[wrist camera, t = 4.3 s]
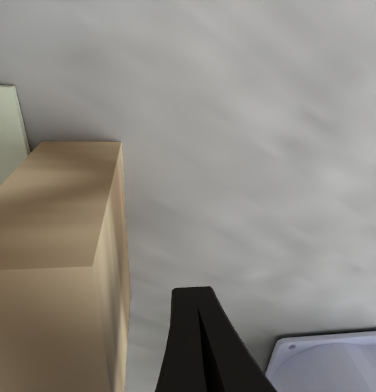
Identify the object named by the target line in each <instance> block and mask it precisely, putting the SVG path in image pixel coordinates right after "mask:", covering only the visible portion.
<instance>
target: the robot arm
mask: <svg viewBox="0 0 376 392" xmlns="http://www.w3.org/2000/svg"><path fill="white" fill-rule="evenodd" d="M155 392H376V331H370V332H357V333H344V334H330V335H317V336H304V337H291V338H282V339H280V340H278V341H277V343H276V345H275V348H274V351H273V354H272V356H271V359H270V362H269V365H268V368H267V371H266V374H264V373H263V371H262V370H261V368H260V367H259V366H258V364H257V363H256V361H255V360H254V359H253V357H252V356H251V354H250V353H249V351H248V350H247V348H246V347H245V345H244V343H243V342H242V340H241V339H240V337H239V336H238V334H237V332H236V331H235V329H234V327H233V326H232V324H231V322H230V321H229V319H228V317H227V316H226V314H225V312H224V310H223V308H222V307H221V305H220V303H219V301H218V299H217V297H216V295H215V293H214V291H213V289H212V288H211V287H210V286H207V287H186V288H175V289H173V290H172V298H171V319H170V330H169V335H168V340H167V346H166V351H165V355H164V359H163V363H162V367H161V371H160V375H159V379H158V383H157V386H156V390H155Z"/></svg>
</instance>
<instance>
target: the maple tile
mask: <svg viewBox="0 0 376 392" xmlns="http://www.w3.org/2000/svg"><path fill="white" fill-rule="evenodd" d="M130 299H131V294H130V278H129V261H128V244H127V227H126V211H125V194H124V177H123V160H122V144H121V142H94V141H41V142H40V143H39V144H38V146H37V147H36V148H35V149H34V150H33V151H32V152H31V153H30V154H29V155H28V156H27V157H26V159H25V160H24V161H23V162H22V163H21V164H20V165H19V166H18V167H17V168H16V169H15V171H14V172H13V173H12V174H11V175H10V176H9V177H8V178H7V179H6V180H5V181H4V182H3V184H2V185H1V186H0V392H124V388H125V374H126V359H127V344H128V329H129V314H130Z"/></svg>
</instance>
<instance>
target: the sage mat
mask: <svg viewBox="0 0 376 392" xmlns="http://www.w3.org/2000/svg"><path fill="white" fill-rule="evenodd" d="M29 154H30V149H29V144H28V140H27V136H26V131H25V127H24V123H23V118H22V114H21V110H20V105H19V101H18V97H17V92H16V88H15V86H9V85H0V186H1V185H2V184H3V182H4V181H5V180H6V179H7V178H8V177H9V176H10V175H11V174H12V173H13V172H14V171H15V169H16V168H17V167H18V166H19V165H20V164H21V163H22V162H23V161H24V160H25V159H26V157H27V156H28V155H29Z"/></svg>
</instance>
